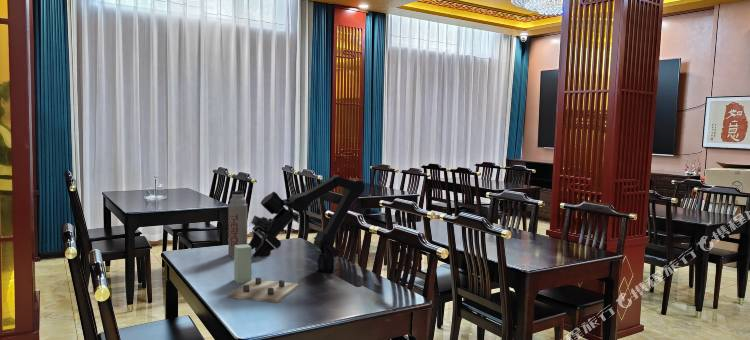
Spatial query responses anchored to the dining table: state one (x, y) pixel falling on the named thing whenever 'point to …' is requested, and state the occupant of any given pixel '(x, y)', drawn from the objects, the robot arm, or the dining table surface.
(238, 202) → the thermos bottle
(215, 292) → the dining table surface
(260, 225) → the robot arm
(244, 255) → the sage block
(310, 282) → the dining table surface
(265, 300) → the peg board
